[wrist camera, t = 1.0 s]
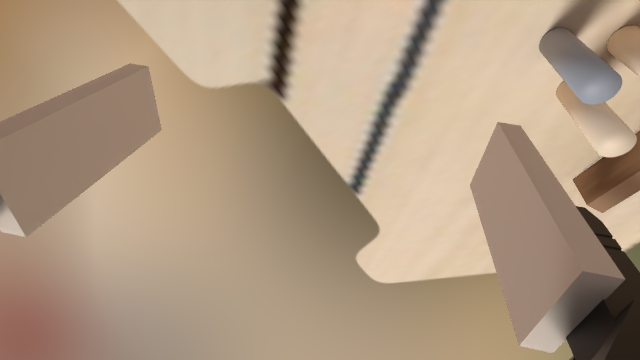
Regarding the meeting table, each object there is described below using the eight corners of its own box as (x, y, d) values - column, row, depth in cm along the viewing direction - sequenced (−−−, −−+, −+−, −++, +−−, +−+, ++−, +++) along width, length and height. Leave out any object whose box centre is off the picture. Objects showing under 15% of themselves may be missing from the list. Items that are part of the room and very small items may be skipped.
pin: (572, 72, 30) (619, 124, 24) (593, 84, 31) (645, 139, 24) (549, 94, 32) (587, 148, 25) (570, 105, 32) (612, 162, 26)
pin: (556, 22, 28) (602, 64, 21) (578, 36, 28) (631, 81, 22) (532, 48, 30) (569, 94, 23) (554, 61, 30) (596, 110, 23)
